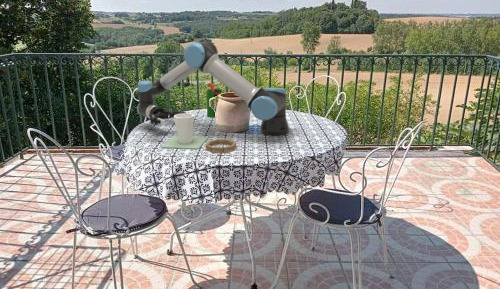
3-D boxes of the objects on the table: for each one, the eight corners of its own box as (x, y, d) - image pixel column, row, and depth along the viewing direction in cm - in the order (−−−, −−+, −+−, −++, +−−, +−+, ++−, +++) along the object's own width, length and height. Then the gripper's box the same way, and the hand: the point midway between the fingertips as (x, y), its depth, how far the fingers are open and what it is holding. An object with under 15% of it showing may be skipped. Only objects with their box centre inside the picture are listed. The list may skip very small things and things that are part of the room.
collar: (237, 144, 188) (237, 139, 187) (232, 153, 175) (232, 148, 174) (210, 143, 190) (210, 138, 189) (203, 152, 177) (203, 147, 176)
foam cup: (186, 145, 185) (184, 119, 180) (171, 142, 189) (169, 116, 185) (199, 140, 192) (197, 114, 188) (184, 137, 197) (183, 112, 193)
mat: (208, 137, 198) (208, 136, 198) (198, 149, 181) (198, 148, 181) (174, 136, 201) (174, 135, 200) (161, 147, 184) (161, 146, 184)
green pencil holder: (219, 118, 236) (218, 84, 229) (205, 117, 237) (203, 84, 231) (223, 114, 245) (222, 82, 239) (210, 113, 247) (208, 81, 241)
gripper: (176, 116, 216) (198, 123, 201) (134, 124, 201) (154, 133, 185) (175, 102, 214) (197, 109, 199) (133, 110, 198) (153, 117, 183)
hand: (177, 120), depth 192 cm, fingers open, 13 cm apart
